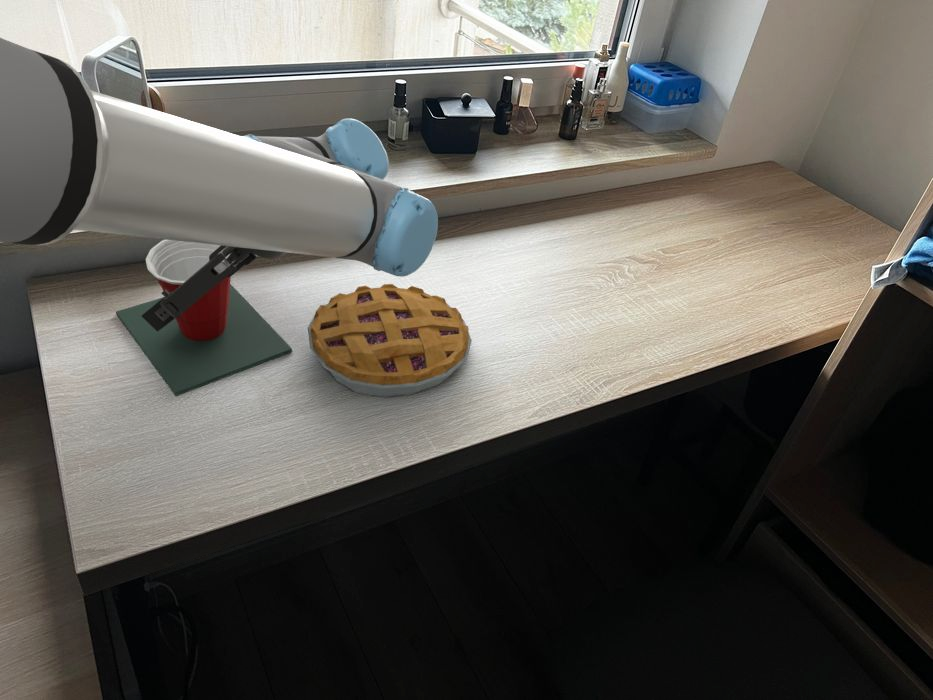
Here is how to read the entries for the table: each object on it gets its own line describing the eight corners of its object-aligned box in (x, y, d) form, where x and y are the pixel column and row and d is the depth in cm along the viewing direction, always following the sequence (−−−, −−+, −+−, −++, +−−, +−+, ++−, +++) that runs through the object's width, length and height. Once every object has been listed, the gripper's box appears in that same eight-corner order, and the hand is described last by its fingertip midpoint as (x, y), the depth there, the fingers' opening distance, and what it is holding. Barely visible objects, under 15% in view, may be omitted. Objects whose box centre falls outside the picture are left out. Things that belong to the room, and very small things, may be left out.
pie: (434, 296, 111) (437, 268, 108) (494, 386, 96) (498, 357, 93) (292, 318, 103) (290, 289, 100) (332, 421, 88) (331, 390, 85)
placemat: (175, 396, 89) (174, 392, 88) (116, 314, 100) (115, 311, 99) (292, 352, 97) (292, 348, 97) (225, 281, 109) (225, 278, 108)
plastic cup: (144, 346, 94) (127, 268, 87) (184, 300, 103) (171, 226, 95) (224, 361, 94) (213, 283, 86) (257, 314, 102) (249, 240, 95)
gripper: (250, 295, 76) (146, 371, 87) (342, 198, 95) (247, 270, 106) (197, 240, 73) (97, 325, 85) (303, 151, 92) (210, 230, 104)
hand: (181, 294), depth 95 cm, fingers open, 12 cm apart
